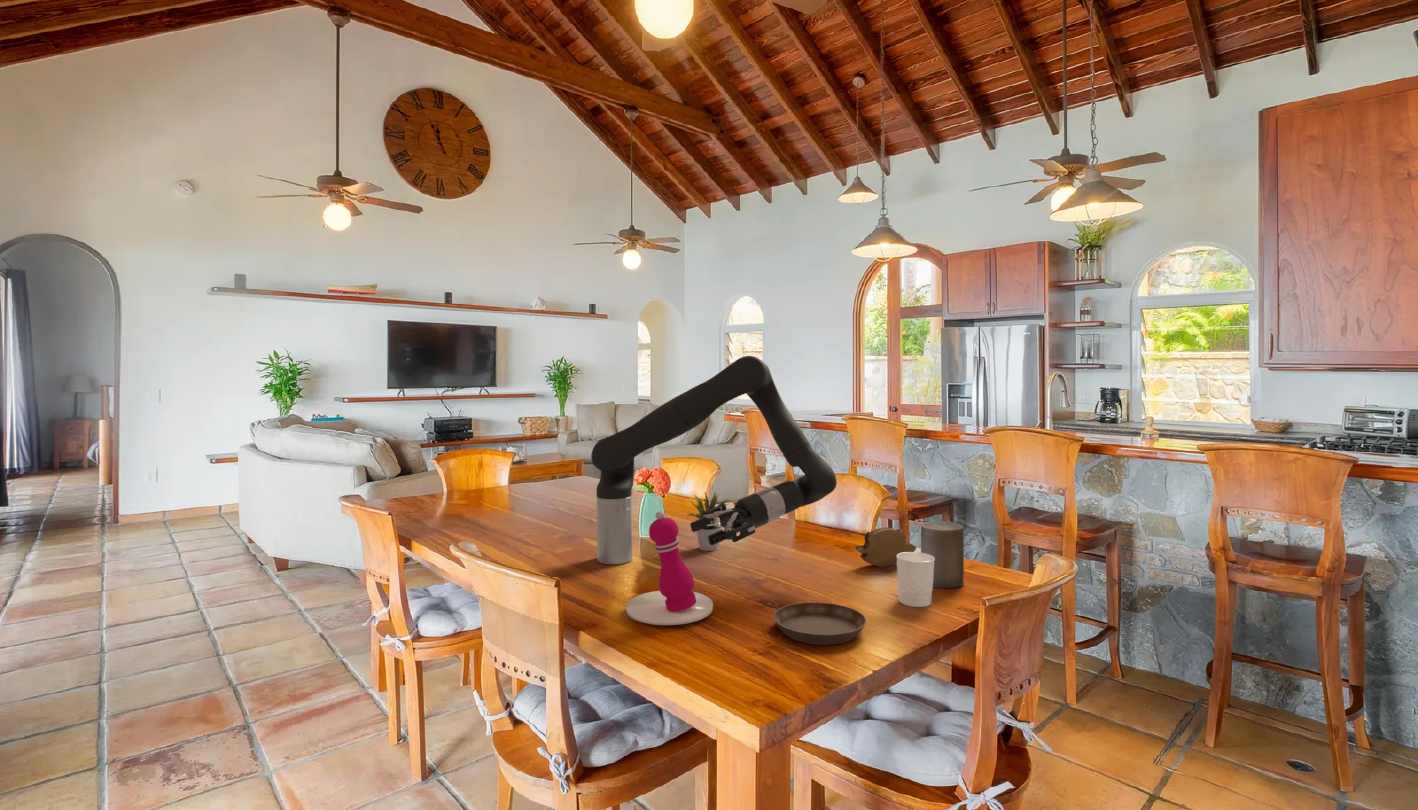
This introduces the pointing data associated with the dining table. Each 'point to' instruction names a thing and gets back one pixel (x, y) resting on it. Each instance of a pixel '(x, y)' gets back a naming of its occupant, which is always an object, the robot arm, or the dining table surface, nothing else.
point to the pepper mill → (672, 565)
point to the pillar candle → (944, 551)
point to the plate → (655, 611)
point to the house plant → (707, 530)
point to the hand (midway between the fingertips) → (700, 534)
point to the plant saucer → (819, 622)
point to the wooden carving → (884, 546)
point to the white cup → (915, 578)
